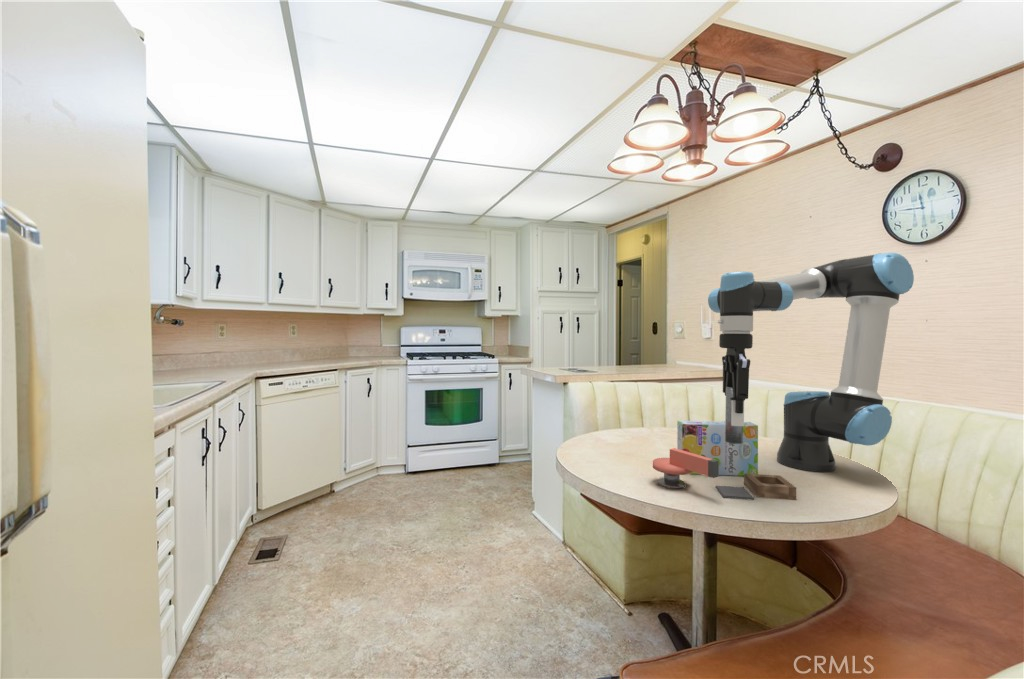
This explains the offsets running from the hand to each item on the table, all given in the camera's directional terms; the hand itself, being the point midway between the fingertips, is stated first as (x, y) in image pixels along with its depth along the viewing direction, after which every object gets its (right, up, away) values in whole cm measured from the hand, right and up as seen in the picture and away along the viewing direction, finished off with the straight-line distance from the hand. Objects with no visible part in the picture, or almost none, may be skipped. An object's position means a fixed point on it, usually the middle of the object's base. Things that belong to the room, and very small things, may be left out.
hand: (734, 423), depth 108 cm
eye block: (+10, -18, +2) cm, 21 cm away
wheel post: (-13, -18, +7) cm, 24 cm away
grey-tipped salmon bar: (-11, -14, +3) cm, 18 cm away
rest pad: (0, -18, 0) cm, 18 cm away
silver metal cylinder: (0, -5, 0) cm, 5 cm away
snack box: (+3, -18, +17) cm, 25 cm away
